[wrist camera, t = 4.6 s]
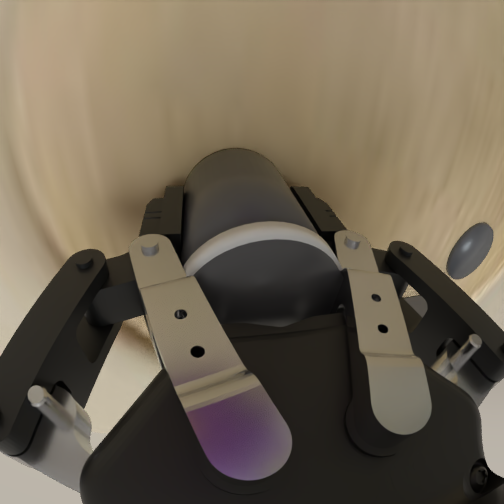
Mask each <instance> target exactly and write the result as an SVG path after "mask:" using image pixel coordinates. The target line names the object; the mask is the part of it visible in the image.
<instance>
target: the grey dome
mask: <svg viewBox="0 0 504 504" xmlns="http://www.w3.org/2000/svg"><path fill="white" fill-rule="evenodd" d="M492 241H493V230H492V228H491V227H490V226H489V225H488V224H487V223H484V222H482V223H478V224H476V225H474V226H472V227H471V228H469V229H468V230H467V231H466V232H465V233H464V234H463V235H462V236H461V237H460V239H459V240H458V241H457V243H456V244H455V246H454V247H453V249H452V251H451V253H450V255H449V258H448V261H447V272H448V274H449V275H450V276H451V277H452V278H453V279H461V278H464V277H466V276H467V275H469V274H470V273H472V272H473V271H474V270H475V269H476V268H477V267H478V266H479V265H480V264H481V263H482V261H483V260H484V259H485V257H486V255H487V254H488V252H489V250H490V247H491V245H492Z"/></svg>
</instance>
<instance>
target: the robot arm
mask: <svg viewBox="0 0 504 504" xmlns="http://www.w3.org/2000/svg"><path fill="white" fill-rule="evenodd" d="M289 189H290V190H291V192H292V193H293V195H294V196H295V198H296V199H297V201H298V203H299V204H300V206H301V207H302V209H303V210H304V212H305V214H306V215H307V217H308V218H309V220H310V222H311V223H312V225H313V227H314V228H315V230H316V231H317V233H318V235H319V236H320V237H322V238H323V239H324V240H325V241H326V242H327V244H328V245H329V247H330V248H331V249H332V251H333V253H334V254H335V256H336V258H337V259H338V261H339V263H340V265H341V267H342V269H343V270H340V272H341V274H342V275H343V277H344V279H343V281H342V284H341V287H340V289H339V292H338V294H337V297H336V299H335V302H334V304H333V307H332V309H331V312H330V314H328V315H320V316H313V317H310V318H307V319H304V320H301V321H299V322H296V323H293V324H290V325H287V326H284V327H276V326H267V325H259V324H250V323H233V324H220V323H219V321H218V319H217V317H216V315H215V314H214V312H213V310H212V308H211V306H210V304H209V303H208V301H207V299H206V297H205V295H204V293H203V291H202V290H201V288H200V286H199V284H198V282H197V280H196V278H195V277H194V276H193V275H191V276H187V277H186V273H185V271H184V269H183V267H182V265H181V263H180V261H181V251H182V224H183V202H184V186H167V187H166V189H165V195H164V198H155V199H153V200H152V201H150V202H149V203H148V204H147V206H146V210H145V214H144V219H143V222H142V226H141V230H140V234H139V237H138V238H136V239H135V240H133V241H132V242H131V244H130V246H129V252H128V253H126V254H124V255H121V256H118V257H114V258H110V259H105V256H104V254H103V253H102V252H101V251H99V250H96V249H86V250H82V251H79V252H77V253H75V254H74V255H72V256H71V257H70V258H69V259H68V260H67V261H66V263H65V264H64V265H63V266H62V268H61V269H60V270H59V271H58V273H57V274H56V275H55V277H54V278H53V279H52V281H51V282H50V283H49V284H48V286H47V287H46V288H45V290H44V291H43V293H42V294H41V295H40V297H39V298H38V299H37V301H36V302H35V304H34V305H33V306H32V308H31V309H30V311H29V312H28V314H27V315H26V317H25V318H24V320H23V321H22V323H21V324H20V326H19V327H18V329H17V330H16V332H15V333H14V335H13V337H12V338H11V340H10V341H9V343H8V345H7V346H6V348H5V350H4V351H3V353H2V355H1V356H0V451H1V452H2V453H3V454H5V455H6V456H8V457H10V458H12V459H14V460H16V461H18V462H20V463H21V464H23V465H25V466H28V467H31V468H34V469H36V470H38V471H40V472H42V473H43V474H45V475H47V476H49V477H50V478H52V479H54V480H56V481H58V482H60V483H61V484H63V485H65V486H67V487H69V488H71V489H73V490H75V491H77V492H79V493H80V494H81V499H82V503H83V504H504V478H502V477H500V476H498V475H496V474H495V473H493V472H492V471H491V470H490V469H489V467H488V466H487V463H486V460H485V457H484V452H483V444H482V434H481V433H482V429H481V417H480V413H479V410H478V407H479V406H480V404H481V403H482V401H483V400H484V399H485V397H486V396H487V394H488V393H489V391H490V390H491V389H492V388H493V387H494V386H495V385H497V384H498V383H499V382H500V381H501V380H502V379H503V378H504V331H503V330H502V329H501V328H500V327H499V326H498V325H497V324H496V323H495V322H494V321H493V320H492V319H491V318H490V317H489V316H488V315H487V314H486V313H485V312H484V311H483V310H482V309H481V308H480V307H479V306H478V305H477V304H476V303H475V302H474V301H473V300H472V299H471V298H470V297H469V296H468V295H467V294H466V293H465V292H464V291H463V290H462V289H461V288H460V287H459V286H457V285H456V284H455V283H454V282H453V281H452V280H451V279H450V278H449V277H448V276H447V275H445V274H444V273H443V272H442V271H441V270H440V269H439V268H438V267H436V266H435V265H434V264H433V263H432V262H431V261H430V260H428V259H427V258H426V257H425V256H424V255H422V254H421V253H420V252H419V251H418V250H417V249H415V248H414V247H413V246H411V245H409V244H407V243H405V242H401V241H393V242H391V243H390V245H389V247H388V250H387V251H384V250H379V249H374V248H371V245H370V243H369V241H368V240H367V239H366V238H365V237H364V236H362V235H361V234H359V233H356V232H354V231H349V230H347V229H346V228H345V227H344V225H343V224H342V223H341V221H340V220H339V219H338V217H336V215H335V213H334V212H332V209H331V208H330V207H329V205H328V204H327V203H325V202H324V201H322V200H321V199H319V198H316V197H315V196H314V194H313V193H312V192H311V190H310V189H309V188H308V187H292V186H291V187H290V188H289ZM408 284H409V285H410V286H411V287H413V288H414V289H415V290H416V291H417V292H418V293H419V294H420V295H421V296H422V297H423V298H424V299H425V301H426V302H427V312H426V313H425V315H424V316H423V318H422V317H421V316H420V315H419V314H418V313H417V312H416V311H415V310H414V309H413V308H412V307H411V306H410V305H409V304H408V303H407V302H406V301H405V300H404V299H403V298H402V296H403V294H404V292H405V290H406V288H407V286H408ZM142 315H144V319H145V322H146V325H147V328H148V331H149V334H150V337H151V340H152V343H153V346H154V349H155V352H156V355H157V358H158V361H159V364H160V367H161V371H160V372H159V373H158V375H157V376H156V377H155V378H154V379H153V381H152V382H151V383H150V384H149V385H148V387H147V388H146V389H145V390H144V391H143V393H142V394H141V395H140V396H139V397H138V399H137V400H136V401H135V402H134V404H133V405H132V406H131V407H130V408H129V410H128V411H127V412H126V413H125V414H124V415H123V417H122V418H121V419H120V420H119V421H118V423H117V424H116V425H115V426H114V427H113V429H112V430H111V431H110V432H109V433H108V435H107V436H106V437H105V438H104V440H103V441H102V442H101V443H100V444H99V446H98V447H97V448H96V449H95V450H94V451H93V450H92V448H91V445H90V434H91V429H92V425H91V420H90V417H89V415H88V413H87V412H86V411H85V410H84V408H85V406H86V403H87V401H88V398H89V396H90V393H91V391H92V389H93V386H94V384H95V382H96V379H97V377H98V375H99V373H100V370H101V368H102V366H103V364H104V362H105V359H106V357H107V355H108V353H109V351H110V349H111V346H112V344H113V342H114V340H115V338H116V336H117V334H118V332H119V330H120V328H121V326H122V323H123V321H125V320H128V319H131V318H135V317H138V316H142Z"/></svg>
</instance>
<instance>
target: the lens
mask: <svg viewBox="0 0 504 504" xmlns="http://www.w3.org/2000/svg"><path fill="white" fill-rule="evenodd" d="M180 263H181V265H182V267H183V269H184V271H185V273H186V277H187V276H191V275H193V276H194V277H195V278H196V280H197V282H198V284H199V286H200V288H201V290H202V291H203V293H204V295H205V297H206V299H207V301H208V303H209V304H210V306H211V308H212V310H213V312H214V314H215V315H216V317H217V319H218V321H219V323H220V324H233V323H250V324H259V325H267V326H276V327H284V326H287V325H290V324H293V323H296V322H299V321H301V320H304V319H307V318H310V317H313V316H320V315H328V314H330V312H331V309H332V307H333V304H334V302H335V299H336V297H337V294H338V292H339V289H340V287H341V284H342V281H343V279H344V277H343V275H342V274H341V272H340V270H343V269H342V267H341V265H340V263H339V261H338V259H337V258H336V256H335V254H334V253H333V251H332V249H331V248H330V247H329V245H328V244H327V242H326V241H325V240H324V239H323V238H322V237H320V236H319V235H318V233H317V231H316V230H315V228H314V227H313V225H312V223H311V222H310V220H309V218H308V217H307V215H306V214H305V212H304V210H303V209H302V207H301V206H300V204H299V203H298V201H297V199H296V198H295V196H294V195H293V193H292V192H291V190H290V189H289V187H288V185H287V184H286V182H285V181H284V179H283V178H282V176H281V175H280V173H279V172H278V170H277V169H276V168H275V166H274V165H273V164H272V163H271V162H270V161H269V160H268V159H267V158H265V157H264V156H262V155H260V154H258V153H256V152H253V151H250V150H245V149H228V150H222V151H219V152H216V153H214V154H212V155H210V156H208V157H206V158H205V159H203V160H202V161H201V162H199V163H198V164H197V165H196V166H195V167H194V169H193V170H192V171H191V173H190V174H189V176H188V178H187V180H186V183H185V186H184V202H183V224H182V251H181V261H180Z"/></svg>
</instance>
